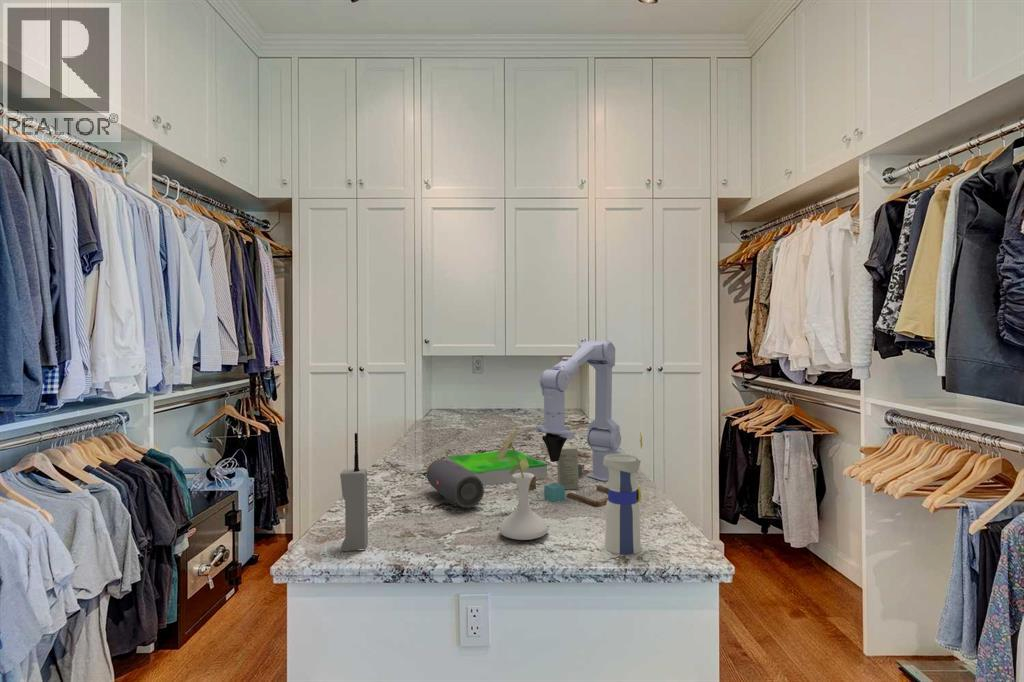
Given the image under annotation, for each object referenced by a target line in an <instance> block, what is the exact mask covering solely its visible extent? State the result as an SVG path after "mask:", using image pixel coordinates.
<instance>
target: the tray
mask: <svg viewBox="0 0 1024 682" xmlns="http://www.w3.org/2000/svg"><path fill="white" fill-rule="evenodd" d="M515 451H516V453H517V456H518V458H519V462H520V461H521V460H522V459H524V458H525V457H526V459H527V461H528V464H529V467H528V468H527V469H526V470H524V471H522V472H523V473H531V474H533V475H534V476H535V477H536V479H537V480H540V479H539V478H544V479H547V478H548V464H547V463H545V462H543V461H540V460H538V459H536V458H534V457H532V456H529V455H527V454H525V453H523V452H520V451H518V450H516V449H515ZM499 453H500V452H498V450H497V451H488V452H479V453H468V454H459V455H450V456H449V455H448V456H447V460H448V461H451V462H453V463H455V464H457V465H459V466H461V467H463V468H465V469H466V470H468V471H470V472H471V473H473V474H474V475H475V476H477V477H478V478H479V479H480V480H481V482H482V484H483V486H484V487H487V486H486V485H491V486H495V485H494V484H499V485H502V484H501V483H506V484H510V483H509V482H514V483H516V481H515V480H514V478H513V477H512V475H513V474H516V473H521V471H520V469H519V467H518V468H517V470H516V471H515V473H513V474H509V473H510V470H511V469H512V467H513V466H514V465H516V464H518V460H517V457H516V455H515V453H514V451H513V449H509V450H508V452H506V454H505V455H504V456H503V457H502V458H500V459H499V457H497V455H498V454H499ZM546 477H547V478H546Z"/></svg>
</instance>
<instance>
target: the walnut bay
mask: <svg viewBox="0 0 1024 682" xmlns="http://www.w3.org/2000/svg"><path fill="white" fill-rule="evenodd" d="M596 491H598V492H602V493H604V494H605V493H606V494H608V488H607V487H606V486H602V485H598V486H596ZM566 497H567V498H569V499H571V498H572V499H571V500H574V499H575V501H577V500H578V501H577V502H580V503H583V504H586V505H588V504H589V506H591V507H595V508H597V507H601V506H606V504H607V501H608V497H604V498H602V499H598V500H594V499H591V498H588V497H586V496H583V495H581V494H580V495H579V494H577V493H574V492H567V493H566Z"/></svg>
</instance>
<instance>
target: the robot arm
mask: <svg viewBox="0 0 1024 682" xmlns="http://www.w3.org/2000/svg"><path fill="white" fill-rule="evenodd" d="M585 363H586V364H588V365H589V366H591V367H593V369H594V370H595V400H594V401H595V410H594V411H595V412H594V413H595V414H594V415H595V416H594V417H595V418H594V419H593V421H591V422H589V423H588V428H587V429H588V430H587V433H586V442H587V443H586V444H588V446H589V448H590V450H592V473H590V474H586V477H588V478H591V479H594V480H599V481H600V482H601V481H602V482H608V480H609V471H608V467H606V466H604V465H603V461H604V457H605V456H606V455H610V454H623V453H622V452H621V450H620V449H619V447H620V446H621V442H622V434H621V432H620V431H621V430H620V429H621V428H620V425H619V424H618V423H617V422H615V421H614V420H613V419H612V409H613V408H612V405H613V404H612V403H613V402H612V400H613V399H612V396H613V395H612V393H613V392H612V391H613V367H615V365H616V347H615V345H614V344H613V342H612V341H611V340H583V341H582V342H580V343H579V345H578V349H577V350H576V351H575V353H574V354H572V356H571V357H569V356H563V357H562V358H561V360H560V361H559V362H558V363H557V364H555V365H554V366H553V367H552V368H551V369H545V370H544V371H543V372H542V373H541V374H540V378H539V381H538V382H539V386H540V388H541V395H542V396H543V414H544V415H543V421H544V422H543V423H544V425H543V424H538V425H535V433H542V434H545V435H542V437H541V438H542V439H541V440H542V441H543V442H544V445H545V446H546V450H547V453H548V457H549V460H550V462H552V463H557V461H559V458H560V454H561V450H562V448H563V446H565V443H566V441H567V440H574V439H575V431H573V430H570V429H568V428H566V427H565V425H566V424H565V423H566V422H565V421H566V420H565V414H566V413H565V412H566V411H565V391H566V390H567V389H568V387H569V383H570V382H571V379H573V378H574V377H575V376H576V375H577V374H578V373H579V372H580V371H579V370H580V366H582V365H583V364H585Z"/></svg>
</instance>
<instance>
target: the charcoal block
mask: <svg viewBox="0 0 1024 682" xmlns="http://www.w3.org/2000/svg"><path fill="white" fill-rule="evenodd" d="M582 466H583V465H582V464H581V463H578V477H579V478H581V477H580V476H582V475H583V471H582V468H583V467H582ZM582 477H583V476H582Z"/></svg>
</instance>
